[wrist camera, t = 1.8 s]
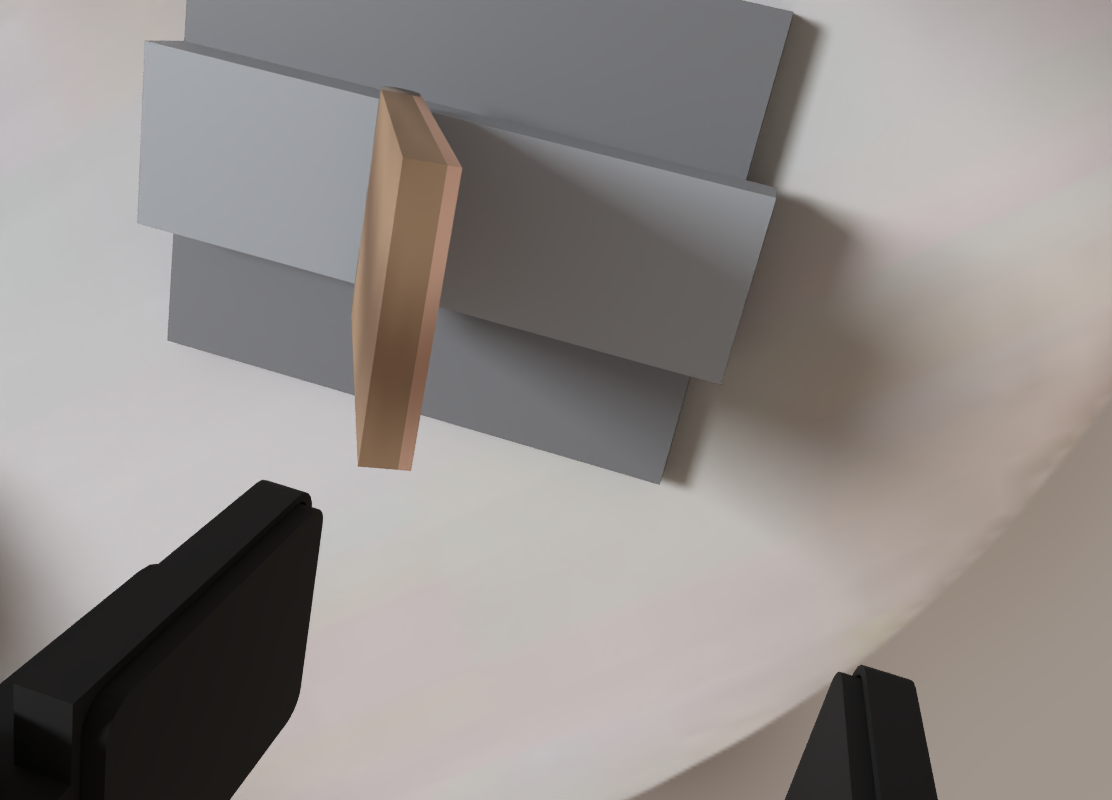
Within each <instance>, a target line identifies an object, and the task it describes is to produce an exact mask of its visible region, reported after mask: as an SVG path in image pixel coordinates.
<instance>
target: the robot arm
mask: <svg viewBox="0 0 1112 800" xmlns="http://www.w3.org/2000/svg"><path fill="white" fill-rule="evenodd" d="M322 524H323V515H322V512H321V510H319V509H316V508H312V501H311V496H310V495H309V494H308V493H306V492H303V491H299V490H296V489H293V488H290V487H286V486H283V485H280V484H277V483H274V482H270V481H267V480H261V481H259V482H258V483H256V484H255V485H254V486H252V487H251V488H250V489H249V490H248V491H246V492H245V493H244V494H243V495H242V496H240V497H239V498H238V499H237V500H235V501H234V502H233V503H232V504H231V505H229V506H228V507H227V508H226V509H225V510H223V511H222V512H221V513H220V514H218V515H217V516H216V517H215V518H214V519H212V520H211V521H210V522H209V523H208V524H206V525H205V526H204V527H203V528H201V529H200V530H199V531H198V532H197V533H195V534H194V535H193V536H192V537H190V538H189V539H188V540H187V541H186V542H184V543H183V544H182V545H181V546H180V547H178V548H177V549H176V550H175V551H173V552H172V553H171V554H170V555H169V556H167V557H166V558H165V559H164V560H163V561H161V562H160V563H159V564H152V565H149V566H147V567H145V568H144V569H142V570H140V571H139V572H138V573H136V574H135V575H134V576H133V577H131V578H130V579H129V580H128V581H127V582H125V583H124V584H123V585H122V586H120V587H119V588H118V589H117V590H115V591H114V592H113V593H112V594H110V595H109V596H108V597H107V598H106V599H104V600H103V601H102V602H101V603H99V604H98V605H97V606H96V607H94V608H93V609H92V610H91V611H90V612H88V613H87V614H86V615H85V616H83V617H82V618H81V619H80V620H78V621H77V622H76V623H75V624H73V625H72V626H71V627H70V628H69V629H67V630H66V631H65V632H64V633H62V634H61V635H60V636H59V637H57V638H56V639H55V640H54V641H52V642H51V643H50V644H49V645H48V646H46V647H45V648H44V649H43V650H41V651H40V652H39V653H38V654H36V655H35V656H34V657H33V658H31V659H30V660H29V661H28V662H27V663H25V664H24V665H23V666H22V667H20V668H19V669H18V670H17V671H15V672H14V673H13V674H12V675H11V676H9V677H8V678H7V679H6V680H4V681H3V682H2V683H1V684H0V800H230V799H231V797H232V796H233V795H234V793H235V792H236V791H237V789H238V788H239V787H240V785H241V784H242V783H243V781H244V780H245V779H246V777H247V776H248V775H249V773H250V772H251V770H252V769H253V768H254V766H255V765H256V764H257V762H258V761H259V760H260V758H261V757H262V756H263V754H264V753H265V752H266V750H267V749H268V748H269V746H270V745H271V743H272V742H273V741H274V739H275V738H276V737H277V735H278V734H279V733H280V731H281V730H282V729H283V727H284V726H285V725H286V723H287V722H288V720H289V719H290V717H291V715H292V713H293V711H294V709H295V706H296V704H297V701H298V697H299V694H300V689H301V681H302V674H303V666H304V659H305V651H306V644H307V636H308V629H309V621H310V614H311V606H312V599H313V591H314V584H315V576H316V569H317V561H318V554H319V546H320V539H321V531H322ZM785 800H938V798H937V793H936V788H935V783H934V779H933V773H932V768H931V763H930V758H929V753H928V748H927V743H926V738H925V732H924V728H923V722H922V717H921V712H920V708H919V702H918V697H917V693H916V687H915V685H914V682H913V681H911V680H909V679H906V678H903V677H899V676H896V675H893V674H890V673H887V672H883V671H880V670H877V669H874V668H870V667H867V666H864V665H860V666H858V667H857V669H856V670H855V672H854V673H853V675H852V676H851V675H848V674H845V673H842V672H838V673H837V674H836V675H835V676H834V678H833V680H832V683H831V685H830V688H829V690H828V693H827V695H826V698H825V700H824V703H823V705H822V708H821V710H820V713H819V715H818V718H817V720H816V723H815V725H814V728H813V730H812V733H811V735H810V738H809V740H808V743H807V746H806V748H805V750H804V753H803V756H802V758H801V760H800V763H799V765H798V768H797V770H796V773H795V775H794V778H793V781H792V783H791V785H790V788H789V791H788V793H787V795H786V798H785Z"/></svg>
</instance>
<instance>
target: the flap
mask: <svg viewBox="0 0 1112 800" xmlns="http://www.w3.org/2000/svg"><path fill="white" fill-rule="evenodd" d="M461 173H462V166H461V165H460V163H459V161H458V159H457V158H456V156H455V154H454V152H453V150H452V149H451V147H450V145H449V143H448V142H447V140H446V138H445V136H444V135H443V133H442V131H441V129H440V127H439V126H438V124H437V122H436V120H435V119H434V117H433V115H432V113H431V112H430V110H429V108H428V106H427V104H426V103H425V101H424V99H423V97H421V94H419V93H417V92H414V91H411V90H407V89H402V88H397V87H390V86H381V87H380V95H379V102H378V110H377V117H376V125H375V132H374V140H373V147H372V155H371V162H370V170H369V177H368V185H367V192H366V200H365V207H364V215H363V223H362V230H361V238H360V245H359V253H358V260H357V268H356V275H355V283H354V290H353V298H352V305H351V310H352V314H351V319H352V342H353V365H354V387H355V410H356V433H357V455H358V466H360V467H372V468H384V469H396V470H407V471H411V467H412V462H413V456H414V450H415V444H416V438H417V432H418V426H419V420H420V414H421V409H422V403H423V397H424V391H425V385H426V379H427V373H428V367H429V361H430V355H431V350H432V344H433V338H434V332H435V326H436V320H437V314H438V308H439V302H440V297H441V291H442V285H443V279H444V273H445V267H446V261H447V255H448V249H449V243H450V238H451V232H452V226H453V220H454V214H455V208H456V202H457V196H458V190H459V184H460V179H461Z"/></svg>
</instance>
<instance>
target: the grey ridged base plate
mask: <svg viewBox="0 0 1112 800" xmlns="http://www.w3.org/2000/svg"><path fill="white" fill-rule="evenodd" d="M792 16H793V12H791V11H787V10H782V9H778V8H773V7H769V6H765V5H760V4H756V3H751V2H747V1H742V0H187V3H186V20H185V38H184V41H145V48H144V72H143V96H142V120H141V144H140V169H139V193H138V217H137V223H138V224H141V225H145V226H149V227H152V228H156V229H160V230H163V231H167V232H170V233H173V251H172V269H171V287H170V304H169V322H168V341H171V342H175V343H178V344H182V345H185V346H188V347H192V348H195V349H199V350H202V351H206V352H209V353H212V354H216V355H219V356H223V357H226V358H229V359H233V360H236V361H240V362H243V363H246V364H250V365H253V366H257V367H260V368H264V369H267V370H270V371H274V372H277V373H281V374H284V375H287V376H291V377H294V378H298V379H301V380H304V381H308V382H311V383H315V384H318V385H322V386H325V387H328V388H332V389H335V390H339V391H342V392H345V393H349V394H352V395H355V387H354V365H353V342H352V319H351V314H352V310H351V305H352V298H353V290H354V283H355V275H356V268H357V260H358V253H359V245H360V238H361V230H362V223H363V215H364V207H365V200H366V192H367V185H368V177H369V170H370V162H371V155H372V147H373V140H374V132H375V125H376V117H377V110H378V102H379V95H380V87H381V86H390V87H397V88H402V89H407V90H411V91H414V92H417V93H419V94H421V97H423V99H424V101H425V103H426V104H427V106H428V108H429V110H430V112H431V113H432V115H433V117H434V119H435V120H436V122H437V124H438V126H439V127H440V129H441V131H442V133H443V135H444V136H445V138H446V140H447V142H448V143H449V145H450V147H451V149H452V150H453V152H454V154H455V156H456V158H457V159H458V161H459V163H460V165H461V166H462V173H461V179H460V184H459V190H458V196H457V202H456V208H455V214H454V220H453V226H452V232H451V238H450V243H449V249H448V255H447V261H446V267H445V273H444V279H443V285H442V291H441V297H440V302H439V308H438V314H437V320H436V326H435V332H434V338H433V344H432V350H431V355H430V361H429V367H428V373H427V379H426V385H425V391H424V397H423V403H422V409H421V414H420V415H424V416H427V417H431V418H434V419H438V420H441V421H444V422H448V423H451V424H455V425H458V426H461V427H465V428H468V429H472V430H475V431H478V432H482V433H485V434H489V435H492V436H496V437H499V438H502V439H506V440H509V441H513V442H516V443H519V444H523V445H526V446H530V447H533V448H536V449H540V450H543V451H547V452H550V453H554V454H557V455H560V456H564V457H567V458H571V459H574V460H577V461H581V462H584V463H588V464H591V465H594V466H598V467H601V468H605V469H608V470H612V471H615V472H618V473H622V474H625V475H629V476H632V477H635V478H639V479H642V480H646V481H649V482H652V483H656V484H659V485H660V481H661V478H662V474H663V471H664V467H665V464H666V460H667V457H668V453H669V450H670V446H671V443H672V439H673V436H674V432H675V429H676V425H677V422H678V418H679V415H680V411H681V407H682V404H683V400H684V397H685V393H686V390H687V386H688V383H689V379H690V377H694V378H698V379H701V380H705V381H709V382H712V383H716V384H719V385H721V382H722V379H723V376H724V372H725V369H726V365H727V362H728V359H729V355H730V352H731V349H732V345H733V342H734V339H735V335H736V332H737V329H738V325H739V322H740V318H741V315H742V312H743V308H744V305H745V302H746V298H747V295H748V292H749V288H750V285H751V282H752V278H753V275H754V272H755V268H756V265H757V261H758V258H759V255H760V251H761V248H762V245H763V241H764V238H765V235H766V231H767V228H768V225H769V221H770V218H771V214H772V211H773V208H774V204H775V201H776V197H777V188H776V187H772V186H768V185H764V184H760V183H756V182H752V181H748V180H746V178H747V175H748V171H749V168H750V164H751V161H752V157H753V154H754V150H755V147H756V143H757V140H758V136H759V133H760V129H761V125H762V122H763V118H764V115H765V111H766V108H767V104H768V101H769V97H770V94H771V90H772V87H773V83H774V80H775V76H776V73H777V69H778V66H779V62H780V59H781V55H782V51H783V48H784V44H785V41H786V37H787V34H788V30H789V27H790V23H791V20H792Z"/></svg>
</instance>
